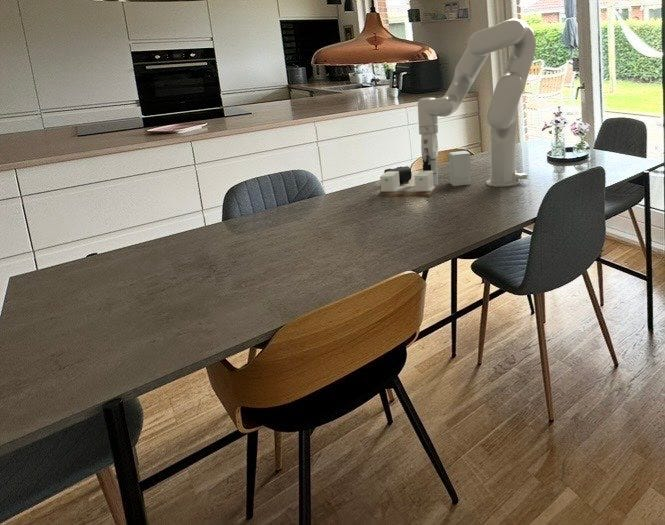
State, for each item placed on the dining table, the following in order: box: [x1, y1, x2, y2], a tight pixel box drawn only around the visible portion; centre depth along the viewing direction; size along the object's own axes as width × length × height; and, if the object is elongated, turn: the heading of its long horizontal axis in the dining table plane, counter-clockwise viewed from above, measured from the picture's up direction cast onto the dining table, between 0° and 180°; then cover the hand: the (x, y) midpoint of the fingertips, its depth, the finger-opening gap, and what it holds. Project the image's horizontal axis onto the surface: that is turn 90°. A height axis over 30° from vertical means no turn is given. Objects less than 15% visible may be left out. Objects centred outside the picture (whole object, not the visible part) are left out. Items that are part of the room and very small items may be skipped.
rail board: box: [377, 185, 438, 198], centre depth 226 cm, size 21×12×2 cm, turn 67°
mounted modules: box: [379, 170, 434, 191], centre depth 224 cm, size 19×9×6 cm, turn 67°
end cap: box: [383, 165, 413, 184], centre depth 243 cm, size 10×7×7 cm
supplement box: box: [448, 150, 472, 187], centre depth 230 cm, size 7×7×13 cm
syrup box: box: [421, 150, 439, 186], centre depth 233 cm, size 6×6×14 cm
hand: (430, 171), depth 234 cm, fingers open, 9 cm apart
